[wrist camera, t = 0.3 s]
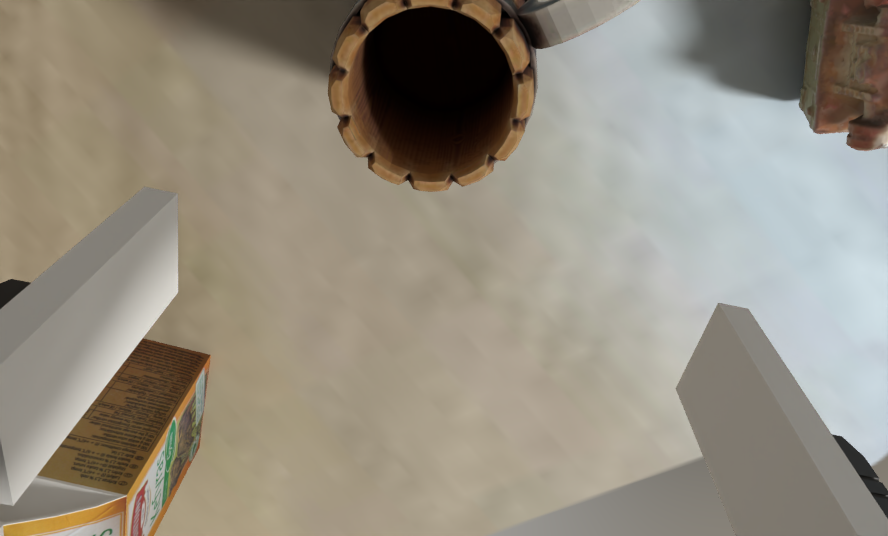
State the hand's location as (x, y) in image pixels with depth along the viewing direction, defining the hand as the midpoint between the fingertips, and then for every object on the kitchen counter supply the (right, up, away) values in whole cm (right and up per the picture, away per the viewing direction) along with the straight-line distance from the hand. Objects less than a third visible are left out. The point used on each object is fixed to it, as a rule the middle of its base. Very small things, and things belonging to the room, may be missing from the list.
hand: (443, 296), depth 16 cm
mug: (+2, +16, +22) cm, 28 cm away
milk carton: (-25, -9, +38) cm, 46 cm away
